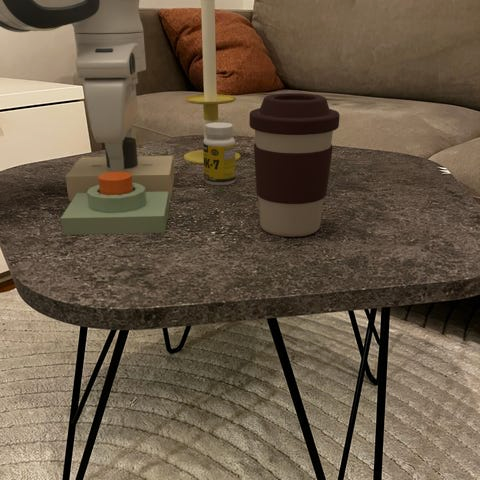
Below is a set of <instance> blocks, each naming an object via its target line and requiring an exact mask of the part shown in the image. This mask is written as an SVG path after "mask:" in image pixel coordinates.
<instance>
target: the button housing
mask: <svg viewBox="0 0 480 480" xmlns="http://www.w3.org/2000/svg"><path fill="white" fill-rule="evenodd" d="M132 184H133V192H130V193H127V194H122V195H105V194H100V188H99V185H96V186H94V187H91V188H89V190H88V191H87V193H77V194H76V195H75V197H74V198H73V200H72V201H70V203H69V205H68V206H67V207H66V209H65V210H64V211H63V214H62V215H61V216H60V223H61V231H62V235H63V236H80V235H81V236H83V235H86V236H87V235H123V234H124V235H125V234H127V235H128V234H165V233H166V231H167V226H168V225H167V224H168V220H169V214H170V209H171V208H170V206H171V205H170V199H169V192H168V191H166V192H146V189H145V187H144V186H142V185H140V184H138V183H132Z"/></svg>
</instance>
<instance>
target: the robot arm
mask: <svg viewBox="0 0 480 480" xmlns="http://www.w3.org/2000/svg"><path fill="white" fill-rule="evenodd" d="M68 25H72V27H73V32H74V41H75V50H76V58H75V66H76V67H75V68H76V69H75V70H76V75H77V78H78V79H80V80H81V79H82V80H83V82H82V83H83V93H84V98H85V104H86V109H87V115H88V118H89V119H88V120H89V125H90V129H91V131H92V135H93V138H94V140H95V142H96V143H99V144H104V143H105V145H104V149H105V148H106V151H107V154H108V157H109V162H110V169H111V171H113V172H122V171H123V170H124V167H125V164H124V156H123V149H122V145H123V143H122V141H123V140H124V138H125V137H131V138H133V124H134V123H135V121H136V119H137V117H138V116H139V115H138V114H139V105H138V104H139V103H138V95H137V87H136V85H137V84H139V79H138V73H140V72H145V71H146V70H147V61H146V48H145V46H146V45H145V35H144V34H145V33H144V26H143V23H142V21H141V16H140V0H0V27H1V28H2V29H4V30H7V31H8V32H9V31H10V32H14V33H27V32H28V33H29V32H49V31H54V30H57V29H59V28H61V27H63V26H64V27H65V26H68Z"/></svg>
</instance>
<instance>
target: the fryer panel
mask: <svg viewBox="0 0 480 480" xmlns="http://www.w3.org/2000/svg"><path fill="white" fill-rule="evenodd" d="M137 159H138V165H137V166H135V167H132V168H126V169H124V170H123V171H122V172H127V173H130V174H131V175H132V183H138V184H140V185H142V186H144V187H145V189H146V192H166V191H168V192H169V200H171V199H172V195H173V189H174V184H175V183H174V182H175V162H174V155H142V156H141V155H137ZM107 172H113V171H111V169H110V168H109V167H107V163H106V156H85V157H84V156H83V157H79V159H78V160H77V161H76V162H75V164H74V165H73V166H72V167H71V169H70V170H69V171H68V172H67V174H66V175H65V184H66V191H67V197H68V202H71V201H72V200H73V198H74V197H75V195H76V194H77V193H87V191H88V190H89V188H91V187H94V186H96V185H99V180H98V176H99V175H101V174H103V173H107Z"/></svg>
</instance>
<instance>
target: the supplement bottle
mask: <svg viewBox="0 0 480 480" xmlns="http://www.w3.org/2000/svg"><path fill="white" fill-rule="evenodd" d="M233 127H234V126H233V124H232V123H229V122H218V123H209V124H206V125H205V133H206V134H205V135H206V136H207V137H206V138H205V139H203V141H202V150H203V154H204V164H203V179H204V183H205V184H207V185H211V186H229V185H232V184H234V183H235V182H236V161H235V152H236V139H235V138H234V137H233V134H234V128H233Z"/></svg>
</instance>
